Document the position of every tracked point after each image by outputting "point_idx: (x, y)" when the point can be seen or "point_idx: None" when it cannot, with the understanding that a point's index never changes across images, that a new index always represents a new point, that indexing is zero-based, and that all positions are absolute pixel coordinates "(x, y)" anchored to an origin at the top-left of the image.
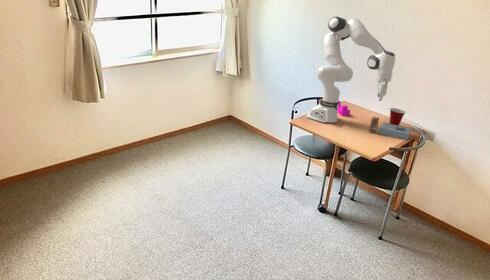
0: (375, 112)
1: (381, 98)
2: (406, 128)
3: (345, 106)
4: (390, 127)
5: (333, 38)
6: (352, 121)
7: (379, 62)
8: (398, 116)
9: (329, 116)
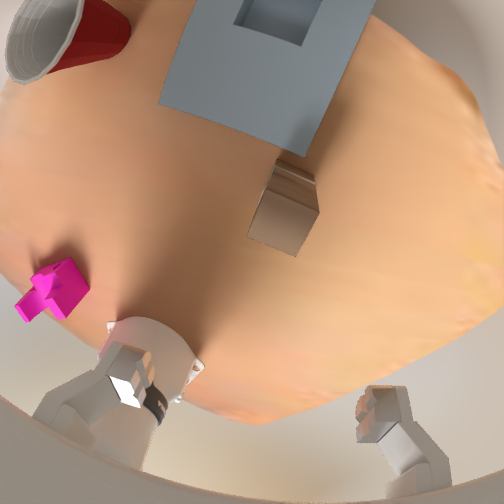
0: None
1: (406, 424)
2: None
3: (59, 308)
4: (263, 70)
5: None
6: (138, 260)
7: None
8: (96, 11)
9: (184, 367)
